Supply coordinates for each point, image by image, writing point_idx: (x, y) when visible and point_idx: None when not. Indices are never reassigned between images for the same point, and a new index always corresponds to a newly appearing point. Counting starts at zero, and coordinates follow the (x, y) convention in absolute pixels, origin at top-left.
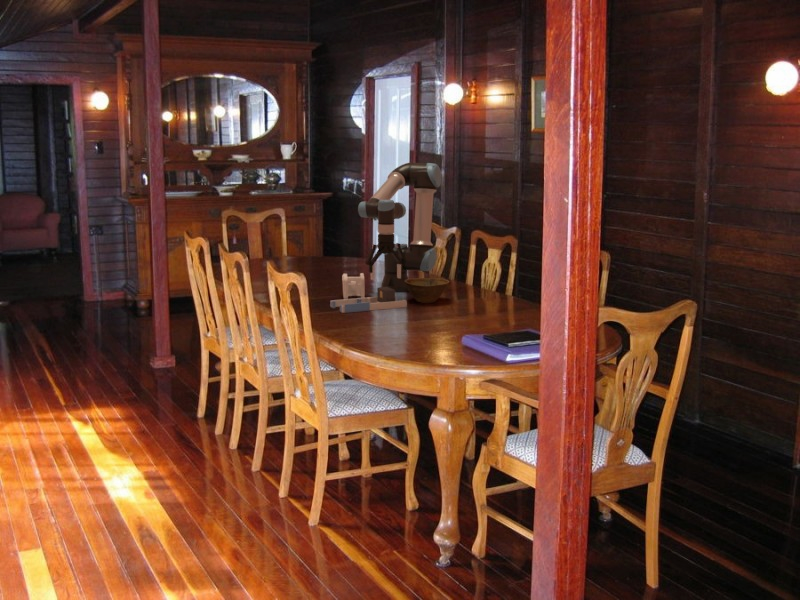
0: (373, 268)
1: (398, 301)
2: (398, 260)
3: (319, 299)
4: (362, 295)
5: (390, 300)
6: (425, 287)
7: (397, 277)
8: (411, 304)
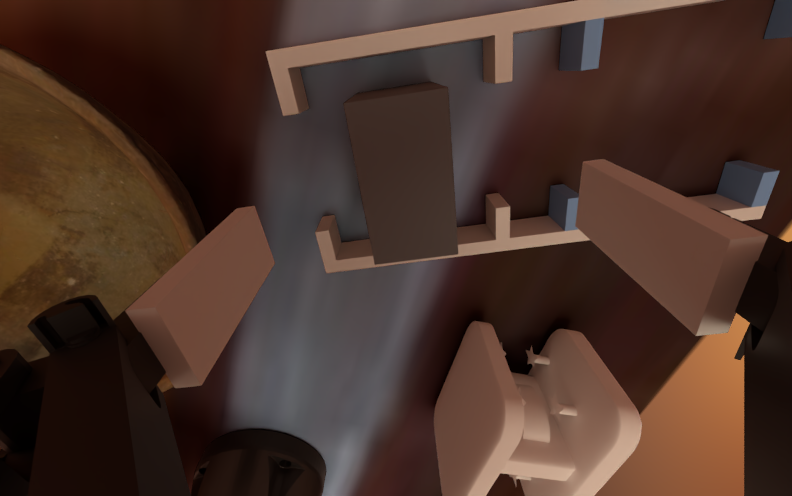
0: (714, 216)
1: (337, 39)
2: (121, 378)
3: (650, 378)
4: (488, 328)
5: (392, 90)
6: (1, 47)
7: (270, 255)
8: (234, 135)
